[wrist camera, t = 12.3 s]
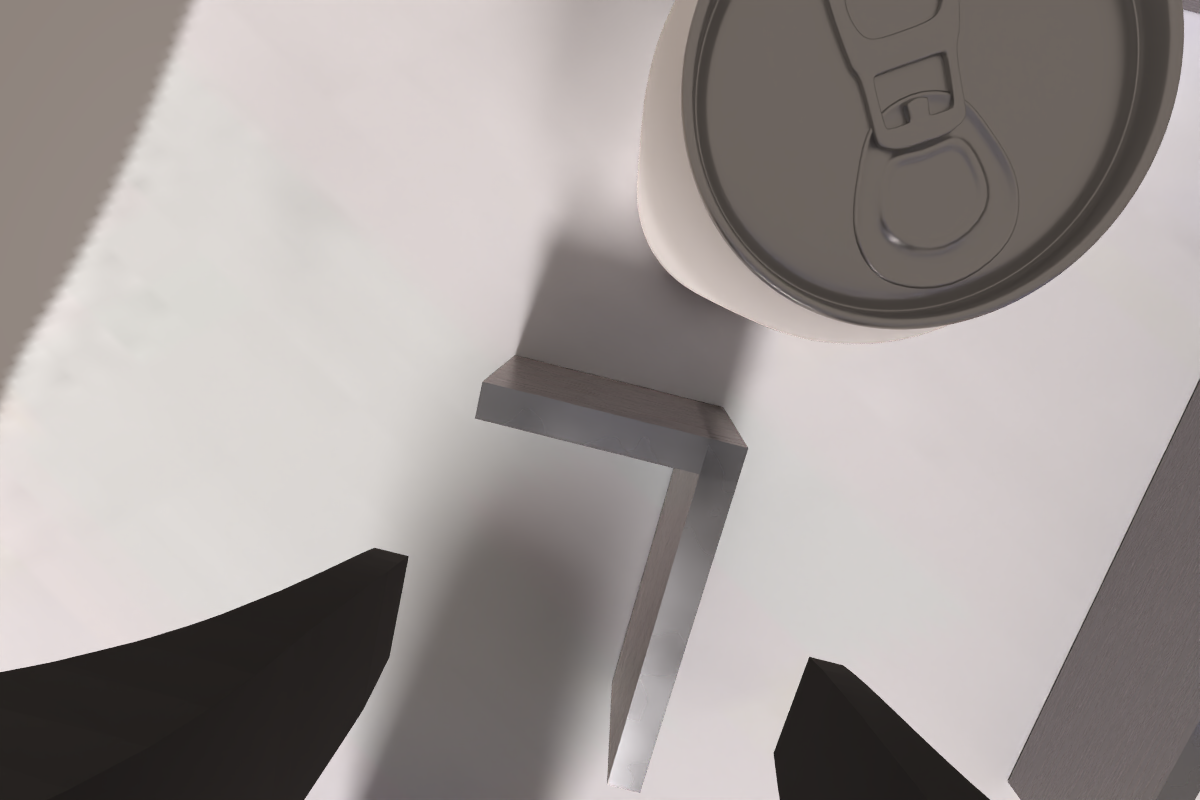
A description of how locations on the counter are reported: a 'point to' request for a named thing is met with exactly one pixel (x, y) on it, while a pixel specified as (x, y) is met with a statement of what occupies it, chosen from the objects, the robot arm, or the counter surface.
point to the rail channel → (1085, 684)
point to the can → (895, 152)
